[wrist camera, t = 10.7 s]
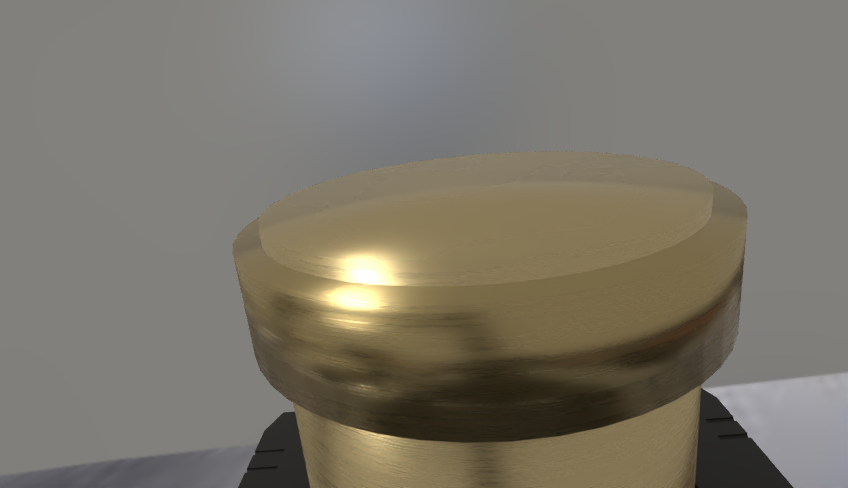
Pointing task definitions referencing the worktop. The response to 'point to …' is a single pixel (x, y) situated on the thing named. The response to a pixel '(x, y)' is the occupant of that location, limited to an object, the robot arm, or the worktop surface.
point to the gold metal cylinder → (497, 319)
